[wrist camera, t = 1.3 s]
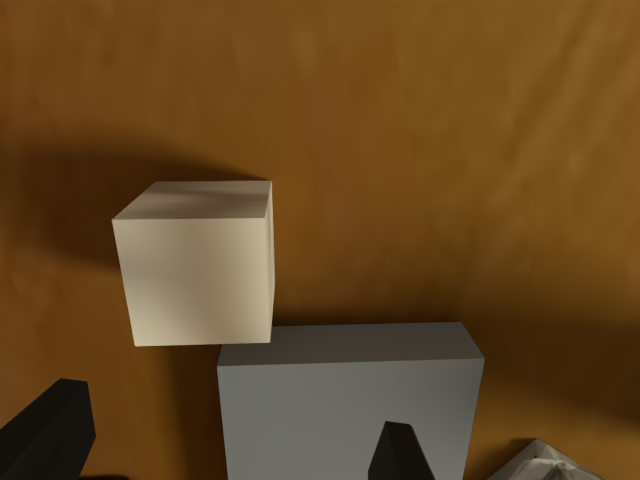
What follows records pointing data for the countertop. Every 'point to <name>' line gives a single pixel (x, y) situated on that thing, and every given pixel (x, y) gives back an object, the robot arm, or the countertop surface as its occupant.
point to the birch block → (198, 262)
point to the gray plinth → (347, 398)
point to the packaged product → (542, 465)
